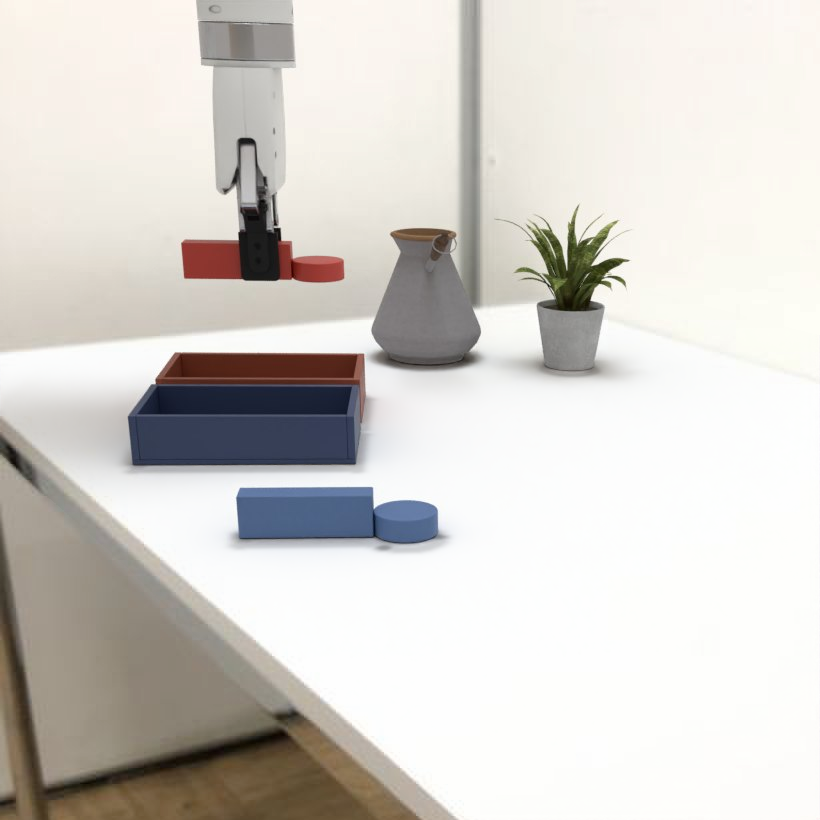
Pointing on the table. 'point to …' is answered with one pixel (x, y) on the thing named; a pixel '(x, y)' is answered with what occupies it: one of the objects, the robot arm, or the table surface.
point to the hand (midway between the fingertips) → (262, 275)
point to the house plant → (571, 296)
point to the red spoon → (225, 264)
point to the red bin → (266, 369)
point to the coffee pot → (425, 302)
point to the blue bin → (245, 424)
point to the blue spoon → (331, 514)
